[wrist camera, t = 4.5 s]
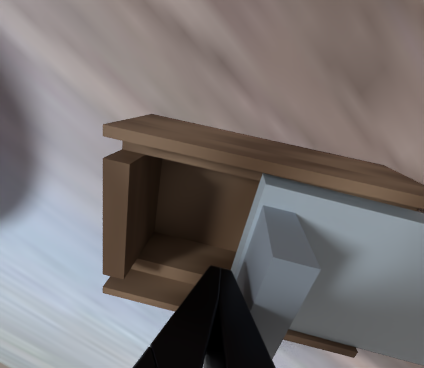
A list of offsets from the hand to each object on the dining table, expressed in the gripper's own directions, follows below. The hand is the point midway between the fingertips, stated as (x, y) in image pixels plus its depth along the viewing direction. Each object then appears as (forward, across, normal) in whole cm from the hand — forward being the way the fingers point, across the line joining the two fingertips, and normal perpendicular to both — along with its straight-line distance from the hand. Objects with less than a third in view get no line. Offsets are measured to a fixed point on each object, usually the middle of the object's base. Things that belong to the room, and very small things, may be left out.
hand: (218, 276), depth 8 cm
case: (+6, -1, 0) cm, 6 cm away
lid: (+3, -6, 0) cm, 7 cm away
